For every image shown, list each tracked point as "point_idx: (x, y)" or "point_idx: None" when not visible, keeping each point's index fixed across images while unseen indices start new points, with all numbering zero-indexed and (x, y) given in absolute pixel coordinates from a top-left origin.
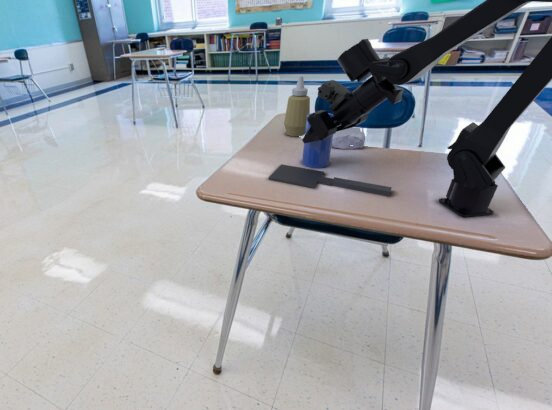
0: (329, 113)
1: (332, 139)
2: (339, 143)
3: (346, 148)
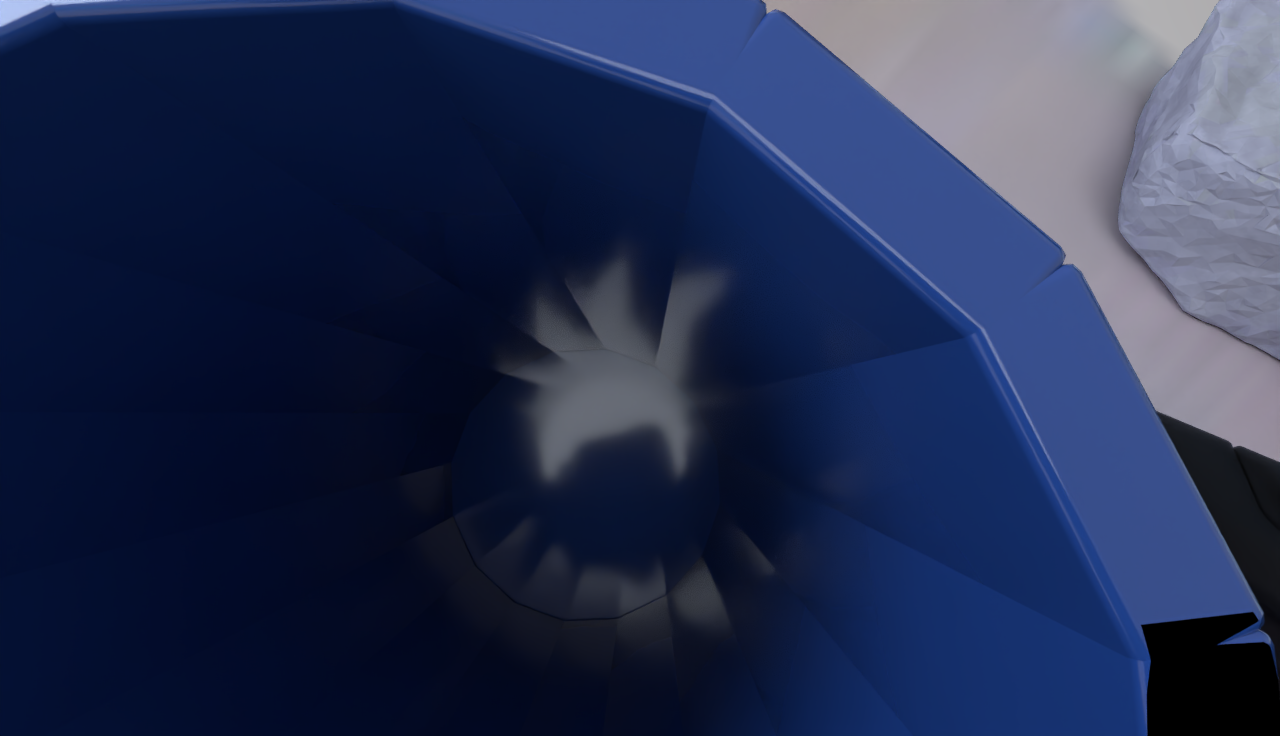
0: (1248, 710)
1: (1187, 150)
2: (1209, 252)
3: (1227, 329)
